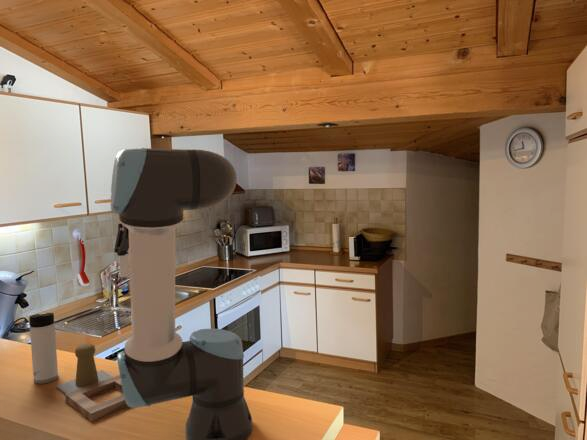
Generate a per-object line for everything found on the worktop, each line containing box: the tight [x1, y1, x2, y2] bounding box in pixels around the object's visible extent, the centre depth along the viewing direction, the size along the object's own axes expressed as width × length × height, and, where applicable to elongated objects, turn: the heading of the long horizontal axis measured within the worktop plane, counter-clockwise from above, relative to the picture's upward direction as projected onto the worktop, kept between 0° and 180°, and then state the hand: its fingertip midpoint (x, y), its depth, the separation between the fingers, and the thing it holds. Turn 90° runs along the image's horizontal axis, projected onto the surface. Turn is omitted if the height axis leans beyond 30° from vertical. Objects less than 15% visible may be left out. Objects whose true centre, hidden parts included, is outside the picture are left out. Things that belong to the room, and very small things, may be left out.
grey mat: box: [56, 369, 114, 395], centre depth 125 cm, size 9×13×1 cm
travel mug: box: [29, 312, 59, 385], centre depth 127 cm, size 6×7×20 cm
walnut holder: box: [64, 374, 129, 422], centre depth 116 cm, size 15×15×2 cm
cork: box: [74, 342, 99, 387], centre depth 124 cm, size 6×6×11 cm
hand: (136, 279), depth 129 cm, fingers open, 13 cm apart
